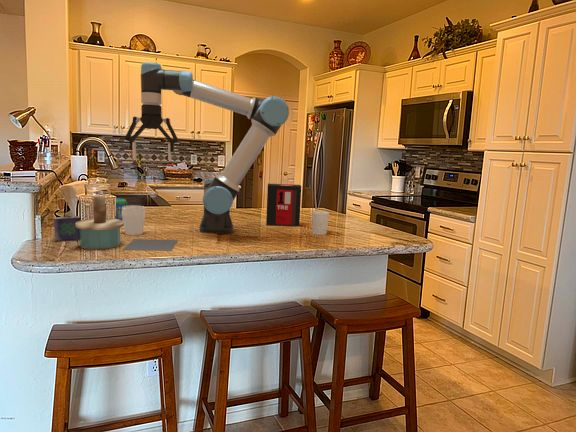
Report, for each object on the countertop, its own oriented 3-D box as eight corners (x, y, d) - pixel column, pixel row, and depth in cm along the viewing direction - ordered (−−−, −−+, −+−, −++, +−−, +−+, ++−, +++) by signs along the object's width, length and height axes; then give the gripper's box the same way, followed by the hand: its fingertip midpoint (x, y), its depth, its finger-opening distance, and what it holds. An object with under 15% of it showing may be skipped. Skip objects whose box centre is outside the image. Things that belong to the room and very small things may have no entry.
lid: (128, 222, 163) (128, 195, 161) (116, 230, 147) (116, 201, 145) (84, 221, 161) (83, 194, 159) (68, 229, 145) (66, 199, 144)
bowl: (123, 243, 163) (123, 222, 161) (113, 251, 150) (113, 229, 148) (88, 242, 161) (87, 221, 160) (75, 251, 148) (74, 228, 147)
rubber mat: (178, 242, 168) (178, 239, 168) (171, 253, 151) (171, 250, 151) (133, 241, 166) (133, 239, 166) (122, 252, 149) (121, 249, 149)
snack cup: (121, 216, 216) (121, 197, 214) (135, 219, 210) (134, 199, 208) (93, 220, 203) (92, 199, 201) (106, 223, 197) (106, 202, 195)
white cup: (330, 233, 199) (331, 212, 197) (324, 236, 192) (325, 214, 190) (314, 231, 202) (315, 210, 200) (308, 234, 195) (309, 212, 193)
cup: (137, 238, 171) (137, 209, 169) (117, 236, 172) (117, 207, 170) (149, 234, 179) (149, 206, 177) (130, 232, 181) (129, 204, 179)
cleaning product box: (266, 225, 211) (267, 185, 208) (266, 222, 220) (267, 183, 216) (299, 226, 212) (301, 186, 208) (298, 223, 220) (300, 184, 217)
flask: (54, 241, 160) (53, 213, 158) (54, 240, 162) (53, 212, 161) (81, 240, 165) (81, 212, 163) (81, 238, 167) (80, 211, 165)
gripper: (185, 107, 171) (185, 160, 175) (120, 103, 168) (122, 158, 172) (183, 105, 164) (183, 161, 167) (115, 102, 161) (116, 158, 164)
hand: (152, 159), depth 169 cm, fingers open, 13 cm apart
